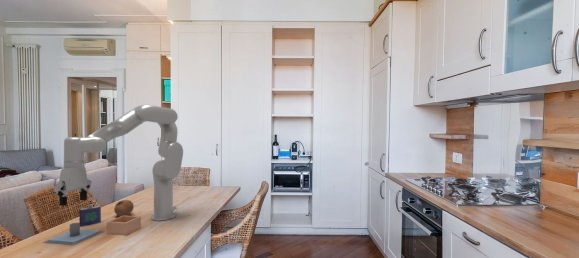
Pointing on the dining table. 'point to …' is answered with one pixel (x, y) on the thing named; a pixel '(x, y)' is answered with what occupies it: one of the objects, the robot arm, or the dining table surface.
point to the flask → (90, 215)
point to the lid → (73, 235)
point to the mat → (74, 243)
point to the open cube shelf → (124, 225)
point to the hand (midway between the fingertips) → (73, 202)
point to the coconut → (123, 208)
